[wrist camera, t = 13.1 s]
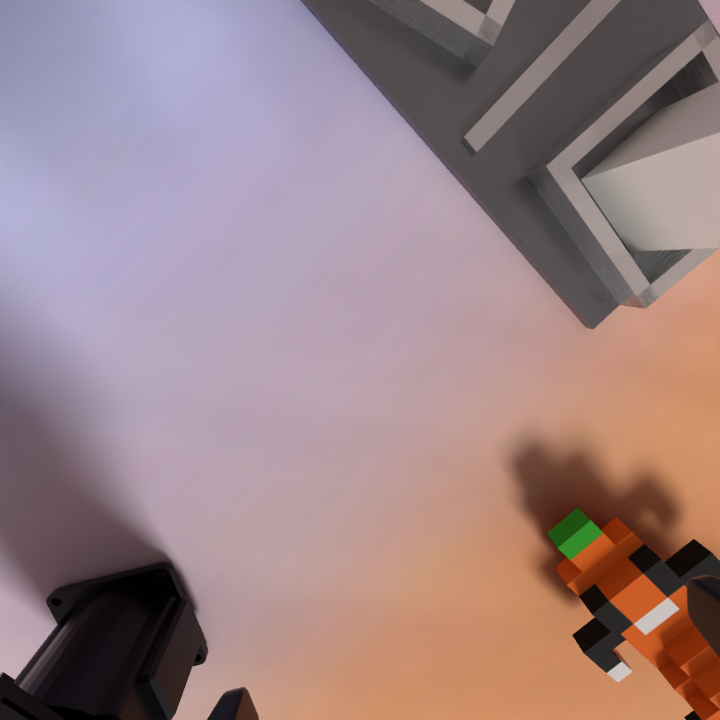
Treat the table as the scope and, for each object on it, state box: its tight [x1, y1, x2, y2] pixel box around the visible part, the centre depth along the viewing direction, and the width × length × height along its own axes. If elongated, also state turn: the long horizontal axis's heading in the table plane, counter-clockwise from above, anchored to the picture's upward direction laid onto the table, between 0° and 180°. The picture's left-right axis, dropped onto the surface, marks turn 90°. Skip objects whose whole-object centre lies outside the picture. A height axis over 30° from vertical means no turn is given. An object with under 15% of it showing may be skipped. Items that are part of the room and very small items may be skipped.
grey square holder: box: [527, 19, 720, 309], centre depth 16 cm, size 7×7×2 cm
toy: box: [547, 507, 720, 720], centre depth 20 cm, size 8×6×15 cm
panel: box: [301, 0, 720, 329], centre depth 16 cm, size 20×11×1 cm, turn 46°
